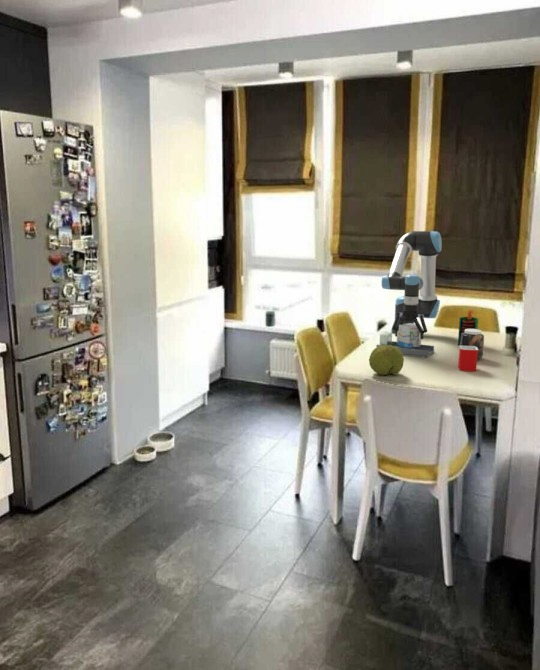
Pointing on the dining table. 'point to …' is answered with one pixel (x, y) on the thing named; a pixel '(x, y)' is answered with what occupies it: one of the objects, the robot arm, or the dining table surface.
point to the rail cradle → (414, 351)
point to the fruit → (386, 360)
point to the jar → (473, 341)
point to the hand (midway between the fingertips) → (408, 343)
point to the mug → (467, 358)
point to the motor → (467, 324)
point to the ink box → (408, 335)
